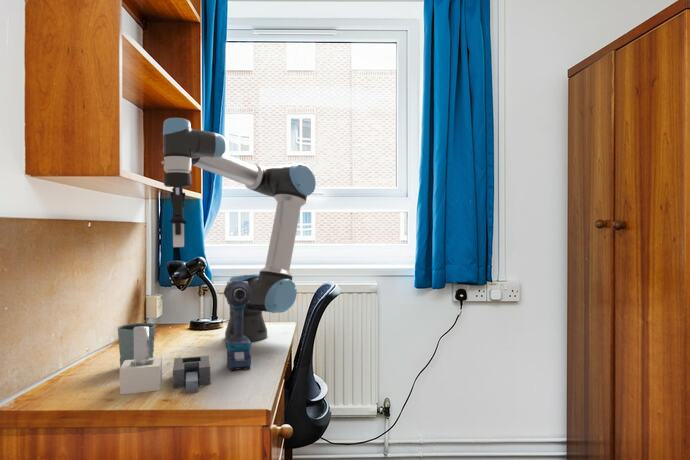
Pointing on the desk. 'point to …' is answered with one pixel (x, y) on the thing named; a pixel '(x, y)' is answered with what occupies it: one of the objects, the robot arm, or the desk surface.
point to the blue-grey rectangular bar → (191, 382)
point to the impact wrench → (238, 325)
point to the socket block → (191, 370)
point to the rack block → (140, 376)
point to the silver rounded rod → (141, 346)
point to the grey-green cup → (128, 340)
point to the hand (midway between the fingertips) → (179, 246)
